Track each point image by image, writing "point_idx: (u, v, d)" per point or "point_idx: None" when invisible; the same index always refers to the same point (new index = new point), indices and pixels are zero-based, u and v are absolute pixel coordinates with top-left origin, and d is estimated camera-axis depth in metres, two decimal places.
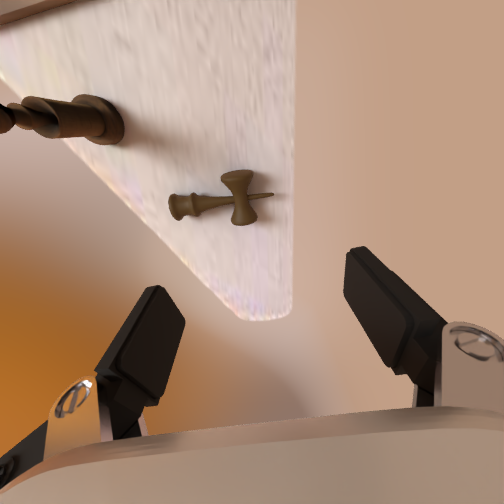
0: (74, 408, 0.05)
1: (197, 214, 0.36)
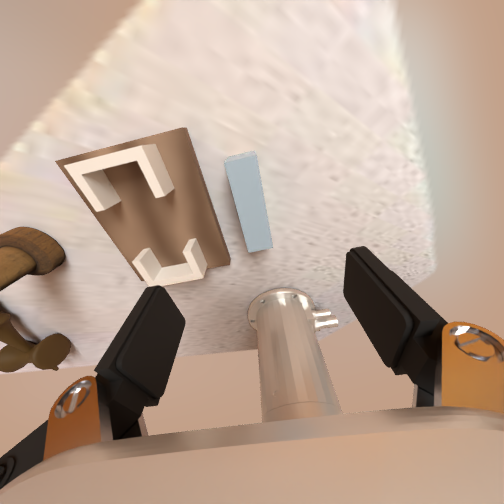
0: (74, 408, 0.05)
1: None
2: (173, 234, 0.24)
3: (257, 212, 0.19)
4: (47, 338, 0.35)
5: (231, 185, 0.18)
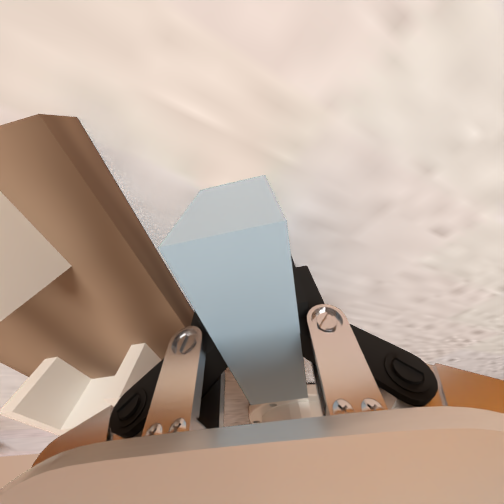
0: (183, 351, 0.06)
1: None
2: (97, 338, 0.12)
3: (276, 351, 0.07)
4: None
5: (196, 304, 0.05)
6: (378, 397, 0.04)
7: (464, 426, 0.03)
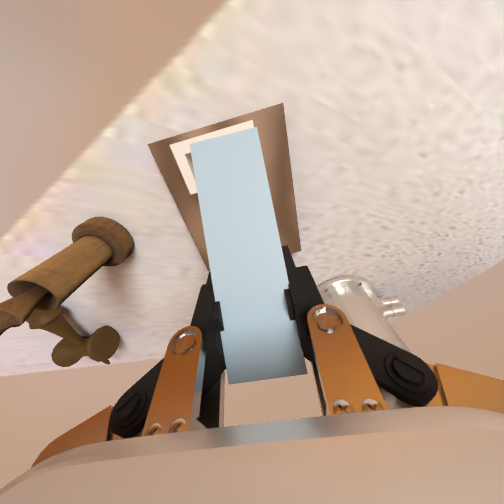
0: (183, 351, 0.06)
1: None
2: None
3: (257, 252, 0.07)
4: (98, 330, 0.34)
5: (199, 188, 0.08)
6: (378, 397, 0.04)
7: (464, 426, 0.03)
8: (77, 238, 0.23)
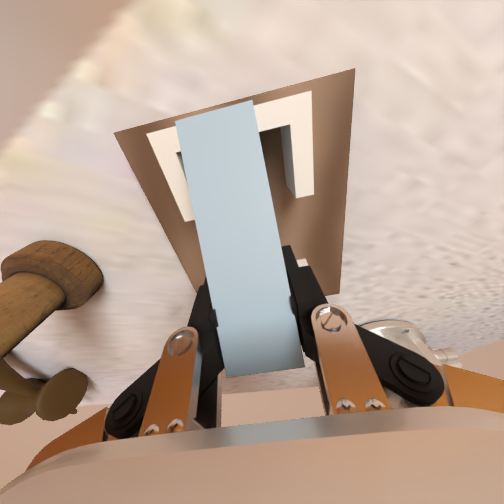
0: (179, 352, 0.06)
1: None
2: None
3: (254, 246, 0.07)
4: (54, 377, 0.26)
5: (188, 174, 0.07)
6: (382, 398, 0.04)
7: (464, 426, 0.03)
8: (7, 275, 0.15)
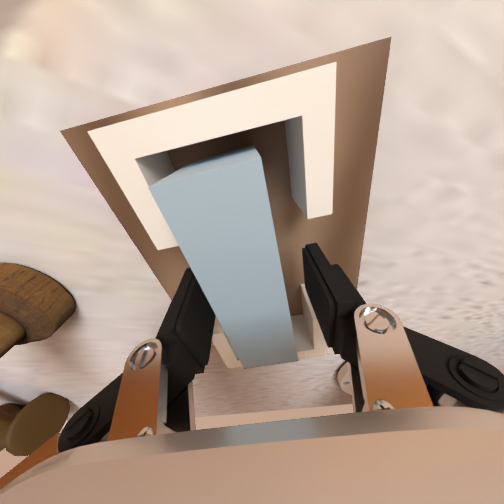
0: (143, 365, 0.06)
1: None
2: None
3: (263, 305, 0.07)
4: (28, 405, 0.23)
5: (185, 250, 0.06)
6: None
7: (464, 426, 0.03)
8: None
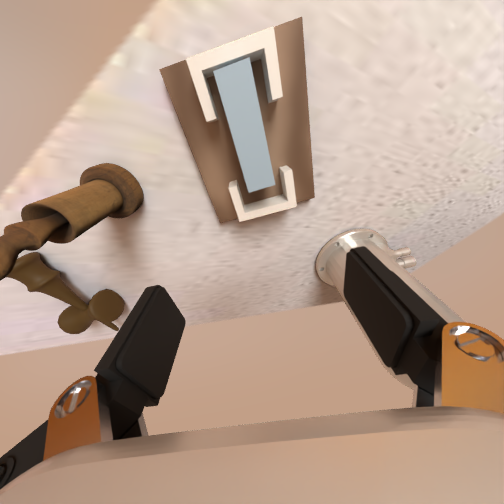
0: (74, 408, 0.05)
1: None
2: None
3: (254, 137, 0.17)
4: (99, 292, 0.33)
5: (223, 102, 0.16)
6: None
7: (464, 426, 0.03)
8: (86, 183, 0.22)
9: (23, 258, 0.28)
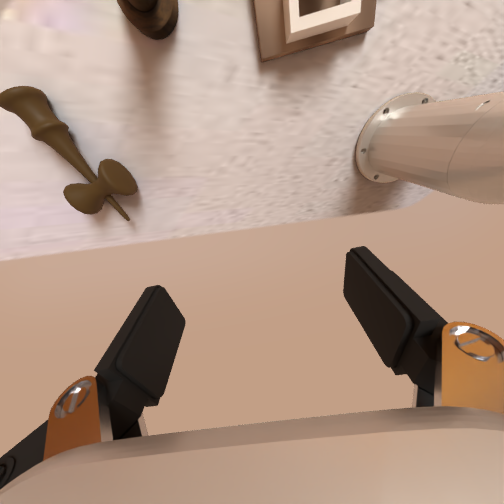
0: (74, 408, 0.05)
1: (36, 138, 0.26)
2: None
3: None
4: (111, 159, 0.30)
5: None
6: None
7: (464, 426, 0.03)
8: None
9: (28, 86, 0.24)
